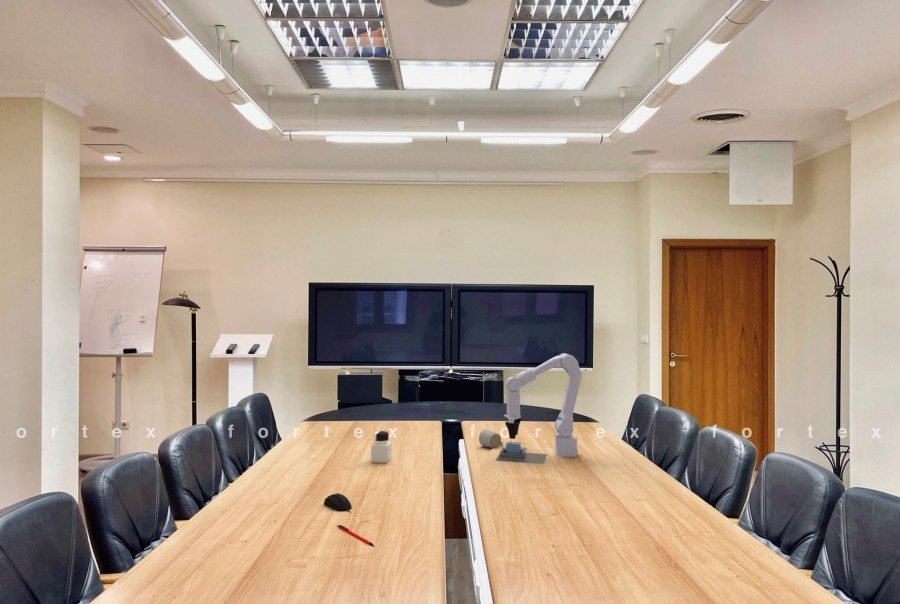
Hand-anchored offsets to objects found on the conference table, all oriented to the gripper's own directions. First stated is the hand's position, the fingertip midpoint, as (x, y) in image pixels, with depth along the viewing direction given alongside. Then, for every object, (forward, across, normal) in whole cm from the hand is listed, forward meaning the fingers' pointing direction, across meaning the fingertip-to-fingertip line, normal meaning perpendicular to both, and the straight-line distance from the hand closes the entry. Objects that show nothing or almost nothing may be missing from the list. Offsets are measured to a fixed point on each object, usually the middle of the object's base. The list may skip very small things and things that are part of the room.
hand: (513, 436), depth 244 cm
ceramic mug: (+9, -15, -12) cm, 21 cm away
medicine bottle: (+8, +20, -53) cm, 57 cm away
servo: (+8, 0, 0) cm, 8 cm away
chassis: (+8, +4, +4) cm, 10 cm away
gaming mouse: (+9, +76, -45) cm, 89 cm away
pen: (+9, +96, -31) cm, 102 cm away
